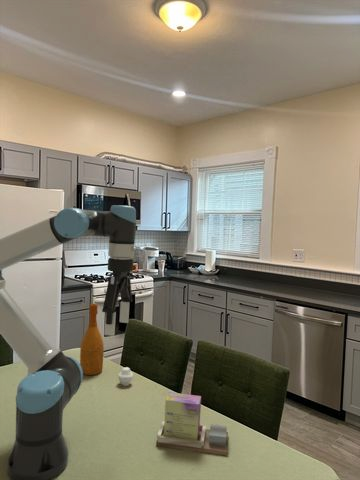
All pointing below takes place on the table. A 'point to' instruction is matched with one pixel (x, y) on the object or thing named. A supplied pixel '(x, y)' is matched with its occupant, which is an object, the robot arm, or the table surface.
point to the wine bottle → (92, 346)
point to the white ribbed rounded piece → (125, 376)
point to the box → (182, 416)
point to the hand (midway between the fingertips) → (117, 328)
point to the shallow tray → (207, 440)
